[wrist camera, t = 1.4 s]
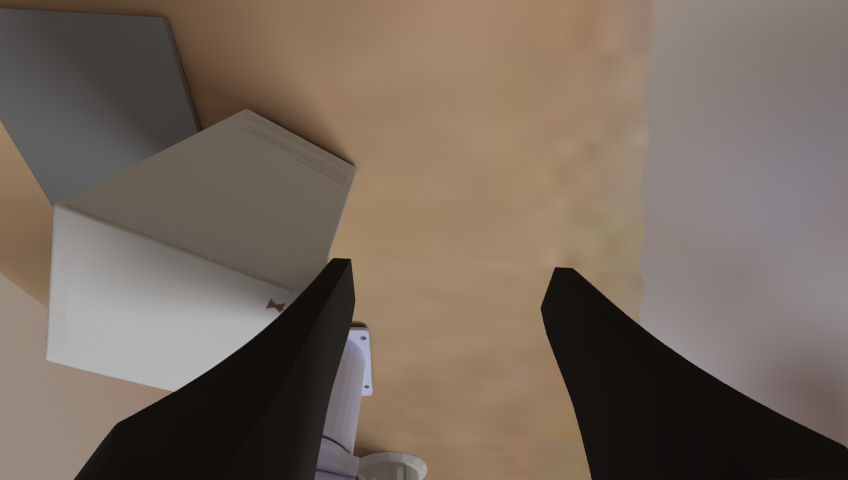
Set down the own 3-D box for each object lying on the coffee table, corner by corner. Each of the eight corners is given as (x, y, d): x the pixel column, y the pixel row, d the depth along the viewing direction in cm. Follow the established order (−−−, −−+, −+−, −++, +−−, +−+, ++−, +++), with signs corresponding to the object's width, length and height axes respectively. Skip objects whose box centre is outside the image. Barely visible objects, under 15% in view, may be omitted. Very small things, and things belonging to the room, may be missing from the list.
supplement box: (244, 103, 19) (44, 193, 8) (361, 167, 21) (323, 301, 11) (210, 203, 22) (33, 363, 11) (316, 249, 24) (251, 417, 14)
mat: (248, 287, 26) (246, 290, 26) (106, 284, 26) (101, 287, 26) (167, 17, 17) (161, 17, 17) (-60, 4, 16) (-71, 4, 16)
